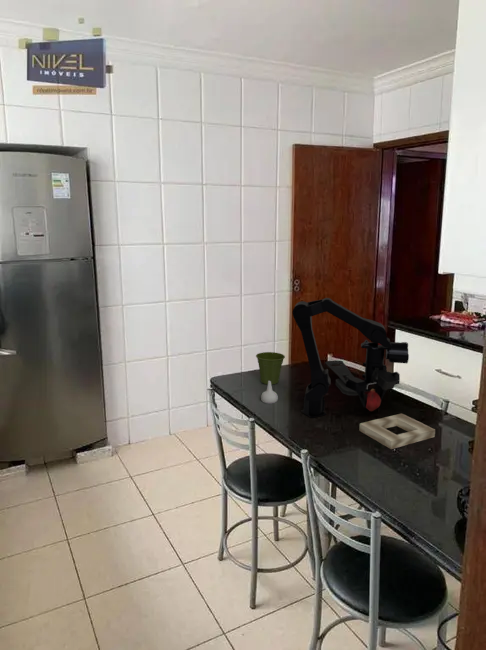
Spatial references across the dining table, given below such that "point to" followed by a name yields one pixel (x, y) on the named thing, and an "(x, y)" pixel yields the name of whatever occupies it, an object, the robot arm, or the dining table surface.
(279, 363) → the plant pot
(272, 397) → the garlic bulb
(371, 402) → the onion
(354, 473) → the dining table surface
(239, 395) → the dining table surface
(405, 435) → the cutout board
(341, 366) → the zipper pull
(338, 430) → the dining table surface
